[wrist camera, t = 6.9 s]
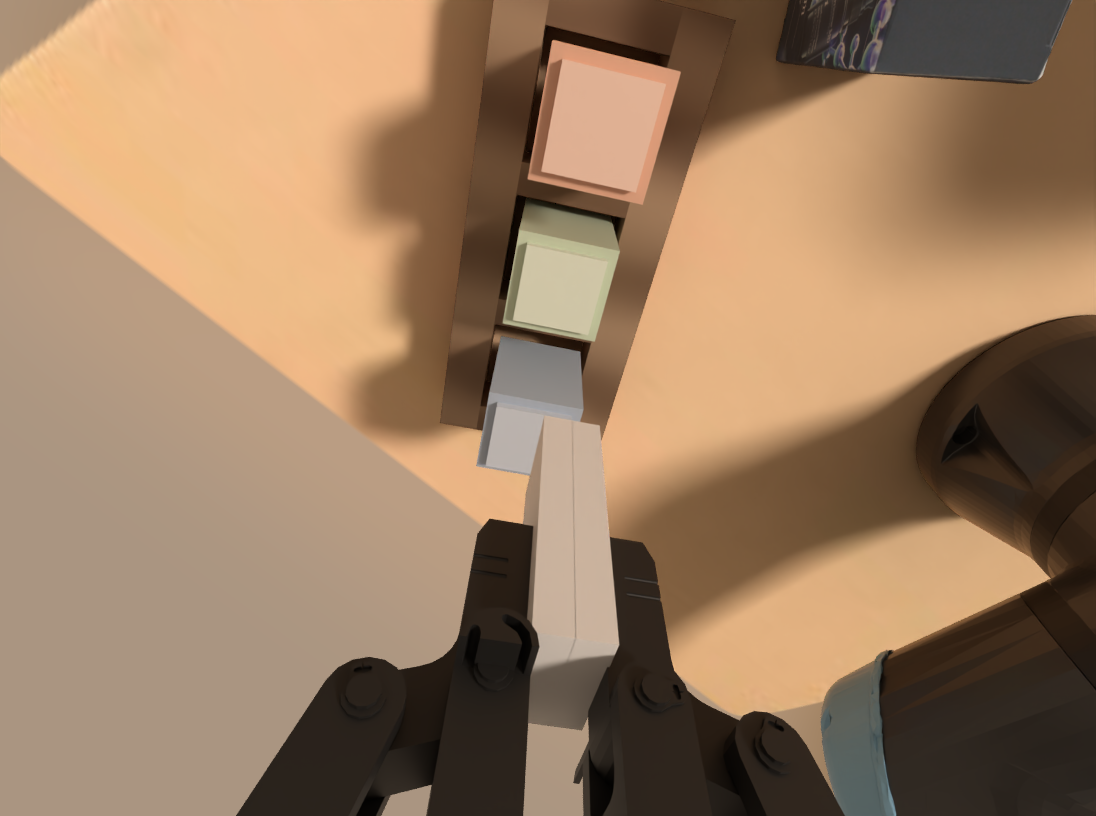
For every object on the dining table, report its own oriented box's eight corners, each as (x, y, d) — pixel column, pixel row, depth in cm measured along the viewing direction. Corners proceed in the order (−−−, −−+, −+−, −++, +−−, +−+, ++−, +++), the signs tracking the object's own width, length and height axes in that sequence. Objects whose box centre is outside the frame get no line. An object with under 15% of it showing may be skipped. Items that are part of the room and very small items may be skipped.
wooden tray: (505, -33, 25) (498, -41, 23) (718, 22, 26) (735, 20, 24) (448, 397, 38) (440, 422, 35) (595, 424, 39) (598, 451, 36)
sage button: (526, 197, 30) (518, 232, 24) (610, 216, 30) (620, 254, 25) (512, 278, 32) (501, 326, 27) (589, 294, 33) (595, 345, 27)
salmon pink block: (554, 39, 24) (552, 40, 19) (656, 65, 25) (683, 72, 19) (534, 152, 27) (526, 181, 21) (627, 174, 27) (644, 207, 22)
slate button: (501, 336, 32) (488, 396, 26) (580, 351, 32) (583, 414, 27) (489, 403, 34) (475, 471, 29) (562, 416, 35) (562, 486, 29)
